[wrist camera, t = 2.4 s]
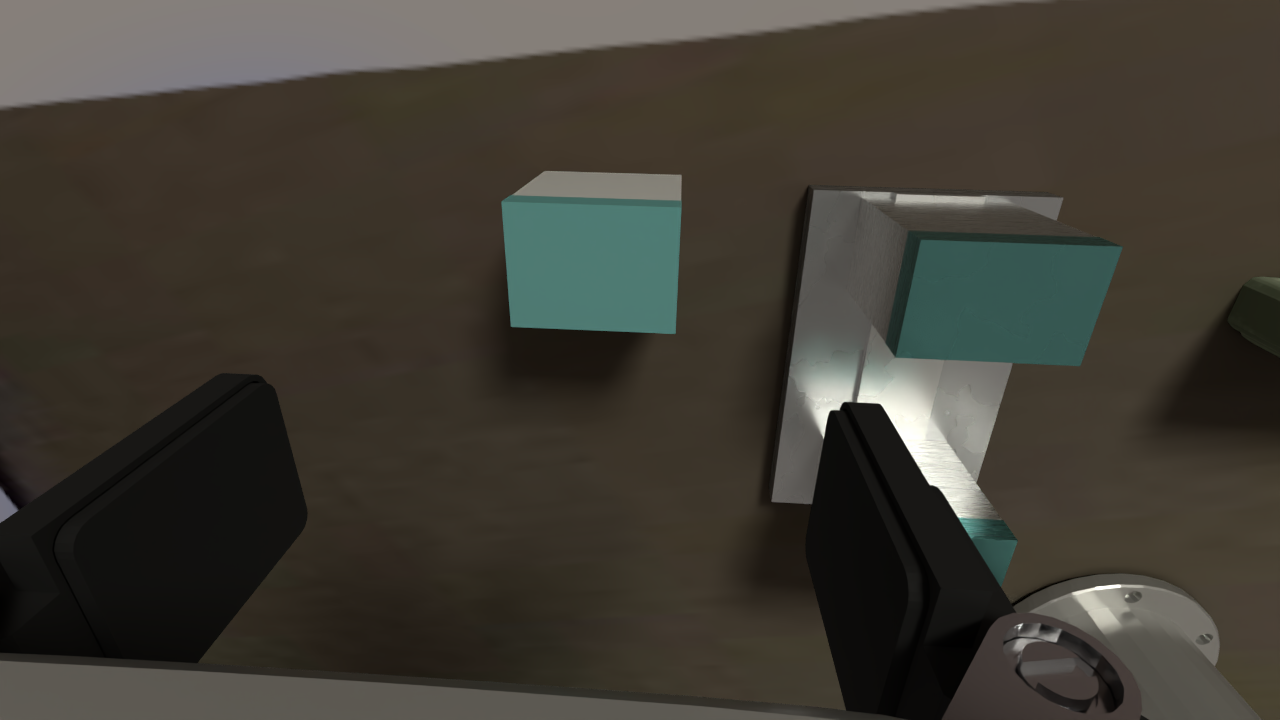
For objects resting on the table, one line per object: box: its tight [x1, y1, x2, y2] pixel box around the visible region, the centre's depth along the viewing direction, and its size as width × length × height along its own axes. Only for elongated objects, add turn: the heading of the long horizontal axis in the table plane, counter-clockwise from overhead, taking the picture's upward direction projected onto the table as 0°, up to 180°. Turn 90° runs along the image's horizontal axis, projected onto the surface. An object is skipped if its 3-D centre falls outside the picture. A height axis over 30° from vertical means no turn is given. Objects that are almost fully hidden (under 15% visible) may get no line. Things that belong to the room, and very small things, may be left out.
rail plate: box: [769, 185, 1123, 587], centre depth 26 cm, size 16×10×8 cm, turn 179°
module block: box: [502, 171, 681, 334], centre depth 25 cm, size 5×6×7 cm
